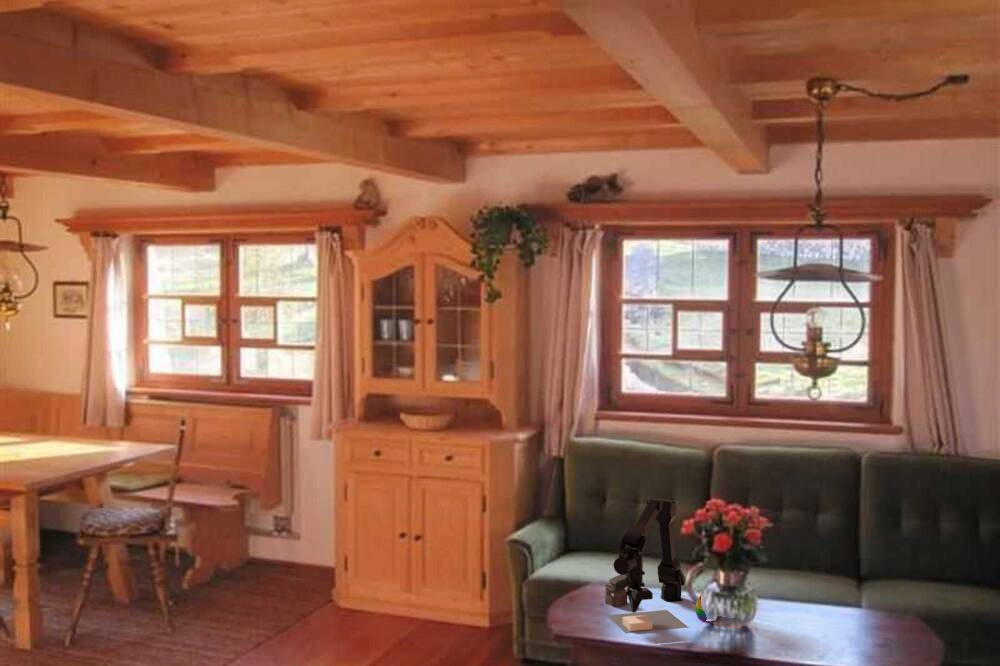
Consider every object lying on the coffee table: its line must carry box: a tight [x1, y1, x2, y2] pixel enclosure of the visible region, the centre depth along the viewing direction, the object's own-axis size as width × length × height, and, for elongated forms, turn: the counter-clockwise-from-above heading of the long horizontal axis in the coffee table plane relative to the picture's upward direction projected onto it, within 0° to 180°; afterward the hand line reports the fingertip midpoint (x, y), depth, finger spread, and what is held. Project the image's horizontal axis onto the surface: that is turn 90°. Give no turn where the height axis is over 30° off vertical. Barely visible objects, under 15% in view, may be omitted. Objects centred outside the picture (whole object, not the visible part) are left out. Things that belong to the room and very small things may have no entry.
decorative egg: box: [695, 594, 707, 622], centre depth 337 cm, size 8×8×10 cm
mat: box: [606, 609, 689, 634], centre depth 335 cm, size 23×18×1 cm
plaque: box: [623, 615, 652, 631], centre depth 329 cm, size 8×3×7 cm
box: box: [604, 582, 628, 608], centre depth 353 cm, size 6×6×7 cm
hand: (633, 612), depth 332 cm, fingers closed
